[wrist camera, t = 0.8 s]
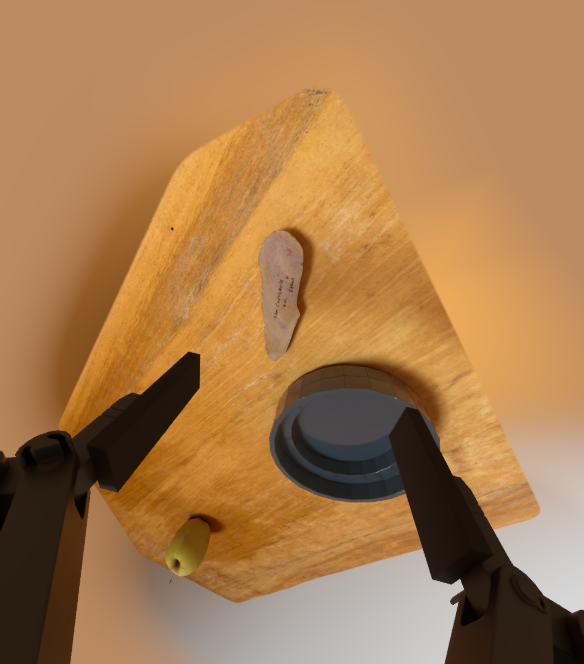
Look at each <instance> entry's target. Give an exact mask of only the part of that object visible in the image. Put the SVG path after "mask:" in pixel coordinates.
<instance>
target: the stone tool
mask: <svg viewBox="0 0 584 664" xmlns="http://www.w3.org/2000/svg"><path fill="white" fill-rule="evenodd" d="M303 262H304V261H303V249H302V247H301V245H300V244H299V242H298V241H297V239H296V238H295V237H294V236H293V234H291V233H290V232H288V231H283V230H279V231H275V232H273V233H272V234H270V235H269V236H268V237H267V238H266V239H265V240H264V242H263V243H262V246H261V249H260V253H259V263H260V267H261V273H262V280H263V294H262V296H263V297H262V299H263V301H262V312H263V316H264V322H265V332H266V333H265V341H266V342H265V343H266V350H267V354H268V357H269V358H270V359H271V360H274V361H276V360H278V359H279V358H280V357H281V356H283V355H284V354H285V353H286V349H287V347H288V344H289V341H290V340H291V337H292V333H293V330H294V328H295V326H296V323H297V321H298V318H299V317H300V313H299V310H298V308H297V296H298V290H299V286H300V279H301V277H302V271H303Z"/></svg>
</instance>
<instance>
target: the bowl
mask: <svg viewBox="0 0 584 664" xmlns="http://www.w3.org/2000/svg"><path fill="white" fill-rule="evenodd" d="M406 407H410V408H414V409H418V410H419V411H420V413H421V415H422V417H423V419H424V421H425V423H426V425H427V427H428V429H429V430H430V432H431V434H432V436H433V438H434V440H435V442H436V444H437V446H438V448H439V450H440V439H439V437H438V435H437V432H436V430H435V428H434V426H433V424H432V422H431V420H430V418H429V417H428V415H427V413H426V411H425V409H424V408H423V406H422V404H421V402H420V400H419V399H418V397H417V396H416V394H415V393H414V392H413V391H412V390H411V389H410V388H409V387H408V386H407V385H406V384H405V383H403V382H402V381H400V380H398V379H396V378H395V377H393V376H391V375H389V374H388V373H386V372H383V371H379V370H376V369H372V368H369V367H364V366H347V365H341V366H334V367H328V368H322V369H319V370H317V371H314V372H312V373H309V374H307V375H304V376H302V377H301V378H300V379H298V380H297V381H296V382H294V383H293V384H292V385H290V386H289V387H288V389H287V390H286V391H285V393H284V394H283V396H282V397H281V398H280V400H279V404H278V407H277V410H276V414H275V418H274V421H273V425H272V429H271V433H270V437H269V441H270V452H271V455H272V457H273V459H274V461H275V463H276V465H277V467H278V468H279V469H280V470H281V471H282V472H283V474H284V475H285V476H286V477H287V478H288V479H290V480H291V481H292V482H294V483H295V484H296V485H298V486H299V487H301V488H303V489H305V490H307V491H309V492H311V493H313V494H315V495H318V496H322V497H325V498H328V499H332V500H337V501H344V502H376V501H382V500H387V499H392V498H395V497H397V496H400V495H403V494H406V492H405V489H404V486H403V482H402V479H401V476H400V473H399V469H398V466H397V463H396V459H395V456H394V453H393V450H392V446H391V443H390V440H389V437H388V436H389V435H390V433H391V431H392V430H393V428H394V426H395V425H396V423H397V421H398V420H399V418H400V416H401V415H402V413H403V411H404V410H405V408H406Z"/></svg>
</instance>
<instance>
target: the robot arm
mask: <svg viewBox="0 0 584 664" xmlns="http://www.w3.org/2000/svg"><path fill="white" fill-rule="evenodd" d="M199 388H200V354H196V353H192V352H187V353H186V354H185V355H184V356H183V357H182V358H181V359H180V360H179V361H178V362H177V363H175V364H174V365H173V366H172V367H171V368H170V369H169V370H168V371H167V372H166V373H164V374H163V375H162V376H161V377H160V378H159V379H158V380H157V381H156V382H155V383H153V384H152V385H151V386H150V387H149V388H148V389H147V390H146V391H145V392H144V393H142V394H141V395H139V394H135V393H130V394H128V395H126V396H124V397H122V398H120V399H119V400H118V401H117V402H115V403H114V404H113V405H112V406H111V407H110V408H109V409H107V410H106V411H105V412H103V413H102V415H101V416H99V417H97V418H96V419H95V420H94V421H93V422H91V423H90V424H89V425H88V426H87V427H85V428H84V429H83V430H82V431H81V432H79V433H78V434H77V435H76V436H75V437H73V438H72V439H71V436H70V434H68V433H67V432H65V431H51V432H47V433H44V434H41V435H38V436H36V437H34V438H33V439H31V440H29V441H28V442H26V443H25V444H24V445H23V446H21V447H20V448H19V450H18V451H17V452H16V454H15V456H16V457H12V458H6V457H5V455H4V453H3V452H2V451H0V664H70V661H71V652H72V643H73V635H74V626H75V619H76V611H77V602H78V593H79V585H80V577H81V569H82V560H83V552H84V543H85V534H86V527H87V518H88V509H89V502H90V488H91V486H93V484H94V483H95V482H96V481H97V480H98V482H99V485H100V488H103V489H107V490H110V491H114V492H117V493H118V492H119V490H120V489H121V488H122V487H123V485H124V484H125V483H126V481H127V480H128V479H129V478H130V476H131V475H132V474H133V472H134V471H135V470H136V469H137V467H138V466H139V465H140V464H141V462H142V461H143V460H144V458H145V457H146V456H147V455H148V453H149V452H150V451H151V449H152V448H153V447H154V446H155V444H156V443H157V442H158V440H159V439H160V438H161V437H162V435H163V434H164V433H165V432H166V430H167V429H168V428H169V426H170V425H171V424H172V423H173V421H174V420H175V419H176V417H177V416H178V415H179V414H180V412H181V411H182V410H183V408H184V407H185V406H186V405H187V403H188V402H189V401H190V399H191V398H192V397H193V396H194V394H195V393H196V392H197V391H198V389H199ZM388 437H389V440H390V443H391V446H392V450H393V453H394V456H395V459H396V463H397V466H398V469H399V473H400V476H401V479H402V482H403V486H404V489H405V492H406V495H407V499H408V502H409V505H410V508H411V512H412V515H413V518H414V522H415V525H416V528H417V531H418V535H419V538H420V541H421V544H422V548H423V551H424V554H425V557H426V561H427V564H428V567H429V570H430V574H431V577H432V579H433V580H437V581H440V582H444V583H447V584H453V583H454V582H456V581H457V580H459V579H460V580H461V582H462V585H463V588H464V590H463V591H462V592H460V593H458V594H457V595H456V596H454V597H453V598H452V599H451V601H450V602H451V604H452V605H454V604H455V603H457V602H459V603H458V607H457V612H456V616H455V620H454V626H453V629H452V634H451V638H450V642H449V647H448V651H447V656H446V660H445V664H584V610H579V611H576V612H574V613H571V612H569V611H568V610H566V609H564V608H563V607H561V606H560V605H558V604H556V603H555V602H553V601H552V600H550V599H548V598H547V597H545V596H544V595H543V594H542V593H541V591H540V590H539V589H538V587H537V586H536V585H535V584H534V582H533V581H532V580H531V579H530V578H529V577H528V576H527V575H526V574H525V573H523V572H522V571H521V570H519V569H518V568H517V567H515V566H513V564H512V563H511V561H510V559H509V557H508V556H507V554H506V552H505V550H504V549H503V547H502V545H501V543H500V541H499V539H498V538H497V536H496V534H495V532H494V531H493V529H492V527H491V525H490V523H489V522H488V520H487V518H486V517H485V516H484V513H483V511H482V509H481V507H480V506H479V505H478V502H477V500H476V498H475V497H474V495H473V493H472V491H471V490H470V488H469V487H468V486H467V485H466V484H465V482H464V481H463V480H462V479H461V478H460V477H456V476H453V475H452V473H451V471H450V469H449V467H448V465H447V463H446V461H445V459H444V457H443V456H442V454H441V452H440V450H439V448H438V446H437V444H436V442H435V440H434V438H433V436H432V434H431V432H430V430H429V429H428V427H427V425H426V423H425V421H424V419H423V417H422V415H421V413H420V411H419V410H418V409H414V408H410V407H406V408H405V410H404V411H403V413H402V415H401V416H400V418H399V420H398V421H397V423H396V425H395V426H394V428H393V430H392V431H391V433H390V435H389V436H388Z"/></svg>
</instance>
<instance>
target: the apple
mask: <svg viewBox="0 0 584 664" xmlns="http://www.w3.org/2000/svg"><path fill="white" fill-rule="evenodd" d="M209 540H210V526H209V524H208V523H206V522H204V521H203V520H201V519H200V518H195V519H190V520H188V521H187V522H185V523H184V524H183V526H182V527H181V528H180V529H179V530H178V532H177V533H176V534H175V536H174V537H173V539H172V541H171V542H170V544H169V546H168V548H167V551H166V564H167V566H168V567H169V568H170V569H171V571H172V572H174V573H175V574H177V575H179V576H186V575H189V574H190V573H192V572H193V571H194V570H195V569H196V568H197V567H198V566H199V565H200V563H201V562H202V560H203V558H204V556H205V554H206V551H207V548H208V544H209ZM170 582H171V581H170Z"/></svg>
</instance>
